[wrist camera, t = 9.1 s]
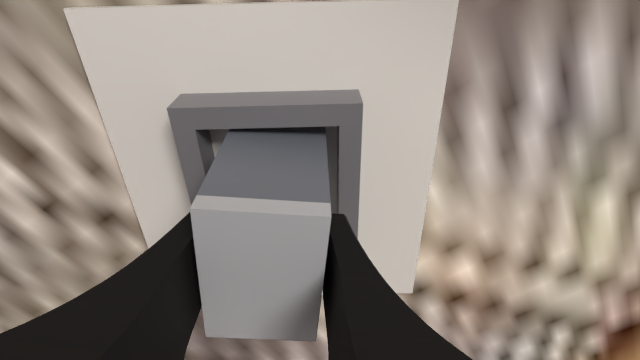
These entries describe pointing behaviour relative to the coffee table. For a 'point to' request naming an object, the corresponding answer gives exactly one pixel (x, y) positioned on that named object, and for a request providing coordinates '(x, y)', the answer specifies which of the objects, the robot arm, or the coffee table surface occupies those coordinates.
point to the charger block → (264, 234)
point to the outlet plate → (277, 102)
